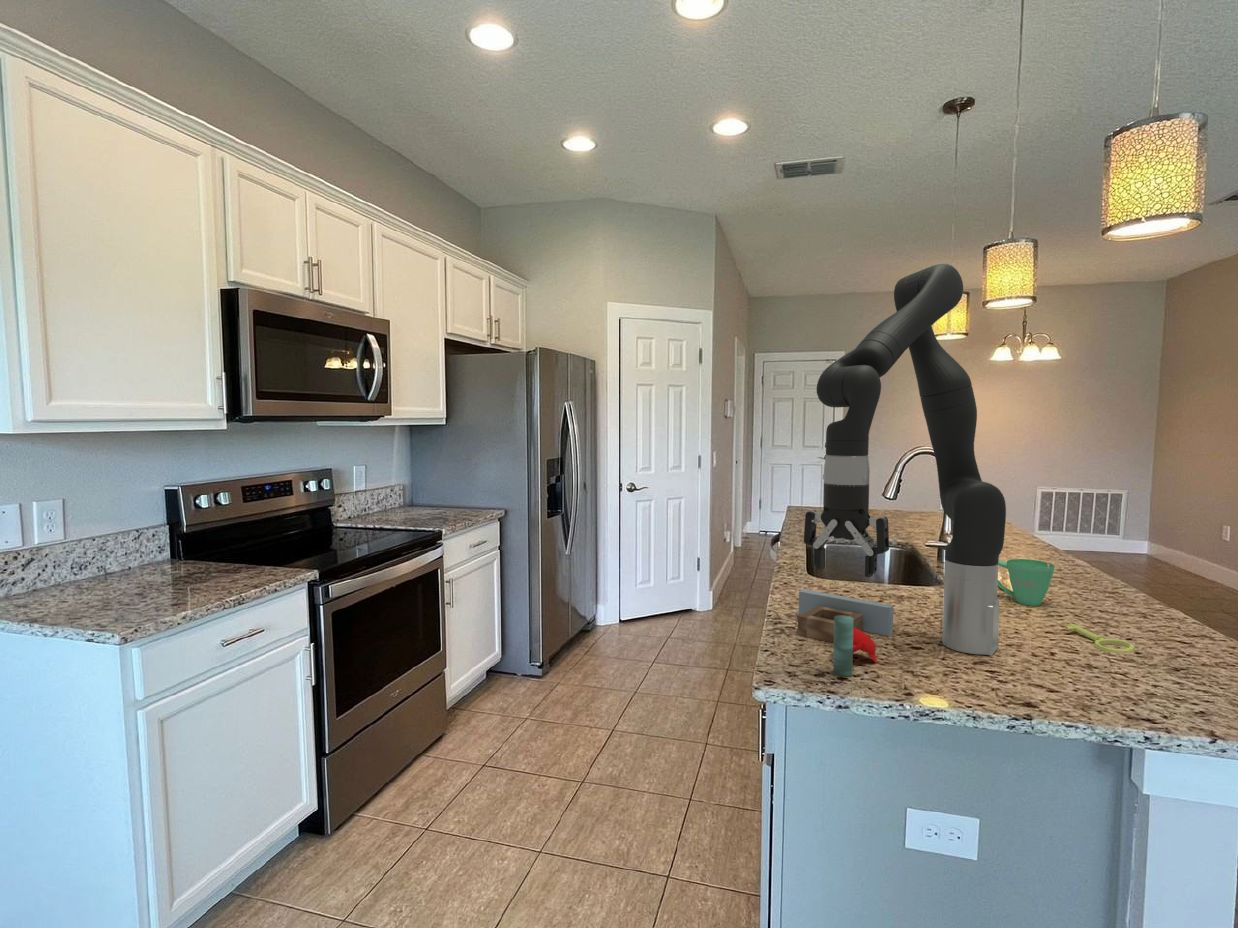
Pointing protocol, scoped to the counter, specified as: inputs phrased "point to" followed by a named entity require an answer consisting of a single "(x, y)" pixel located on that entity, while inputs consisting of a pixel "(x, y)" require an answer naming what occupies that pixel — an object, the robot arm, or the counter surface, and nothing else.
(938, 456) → the robot arm
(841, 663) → the dowel
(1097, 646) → the key
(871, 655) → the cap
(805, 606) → the wall
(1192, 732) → the counter surface
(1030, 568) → the mug
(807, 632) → the holed block
